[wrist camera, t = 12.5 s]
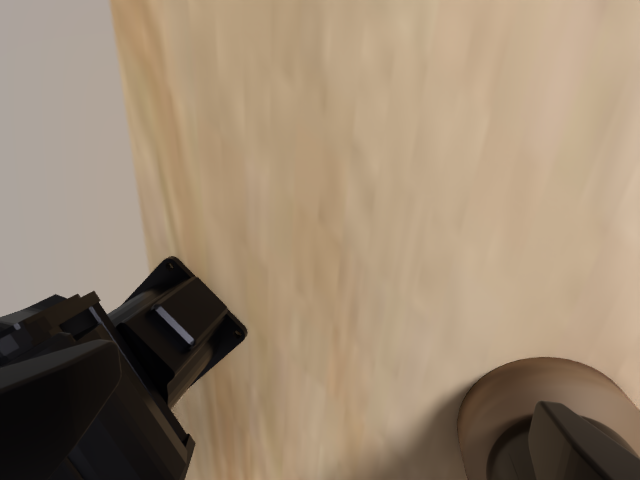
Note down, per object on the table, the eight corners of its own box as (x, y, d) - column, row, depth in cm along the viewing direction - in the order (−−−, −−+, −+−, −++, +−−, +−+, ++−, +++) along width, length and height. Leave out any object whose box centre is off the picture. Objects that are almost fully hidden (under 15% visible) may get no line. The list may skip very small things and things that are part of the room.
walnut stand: (525, 520, 23) (540, 563, 21) (423, 414, 23) (427, 447, 20) (673, 447, 21) (710, 487, 18) (562, 325, 20) (585, 351, 18)
